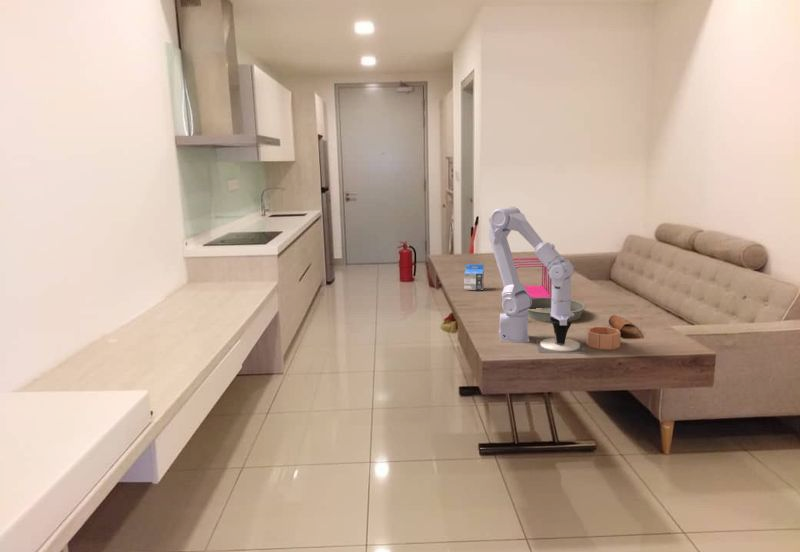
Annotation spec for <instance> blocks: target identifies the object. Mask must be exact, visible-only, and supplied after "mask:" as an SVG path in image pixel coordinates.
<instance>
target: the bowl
mask: <svg viewBox="0 0 800 552" xmlns="http://www.w3.org/2000/svg"><path fill="white" fill-rule="evenodd" d="M585 331H586V332H585V333H586V337H585V340H586V341H585V343H586V345H587V347H590V348H592V349H593V348H594V349H597V350H615V349H618V348H620V347H621V337H620V336H621V332H620V331H619V330H618V329H615V328H612V326H611V327H609V326H598V325H597V326H591V327H587V328H586V330H585Z"/></svg>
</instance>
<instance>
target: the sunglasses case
mask: <svg viewBox="0 0 800 552" xmlns="http://www.w3.org/2000/svg"><path fill="white" fill-rule="evenodd" d="M608 318H609V319H608V324H609V325H610V326H611V328H615V329H618V330H619V331H620V332H621V336H620V338H622V339H636V340H637V339H639V340H641V339H642V340H643V339H644V336H643V335H642V334H641V332H640V331H639V329H638V328H637V327H636V324H634V322H631V321H630V320H628V319H626V318H624V317H621V316H618V315H613V314H612V315H611V316H610V317H608Z"/></svg>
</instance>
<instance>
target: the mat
mask: <svg viewBox="0 0 800 552" xmlns="http://www.w3.org/2000/svg"><path fill="white" fill-rule="evenodd" d="M534 339H535V338H534ZM545 339H546V338H544V339H541V338H536V339H535V343H536V347H537V351H538V353H539V354H574V355H575V354H576V355H578V354H579V355H581V354H585V355H587V352H586V349H585V348H584V346H583V344H582V342H581V341H580V339H573V340H574V341H576V342H578V343H579V344H580V348H579V349H578V350H576V351H572V352H554V351H549V350H546V349H544V348H542V347H541V346H540V342H541V341H542V340H545Z"/></svg>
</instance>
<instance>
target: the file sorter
mask: <svg viewBox="0 0 800 552" xmlns="http://www.w3.org/2000/svg"><path fill="white" fill-rule="evenodd" d="M513 261H514V264H515V267H516V270H517V269H519V268H537V267H538V268H539V267H540V268H542V269H541V285H523V286H524V287H525V288H526V291H527V293H528V294H529V295H530V296H531V299H532V298H543V297H552V280H551V278H550V276H549V273H548V271H549V270H548V269H547V268H546V267H545V266H544V264H543V263H542V262H541V261H540V260H539V259H538V257H513Z"/></svg>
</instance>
